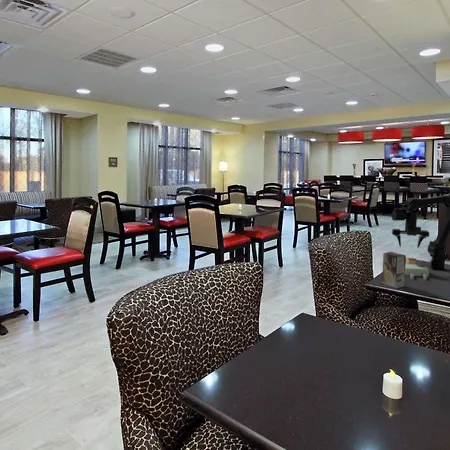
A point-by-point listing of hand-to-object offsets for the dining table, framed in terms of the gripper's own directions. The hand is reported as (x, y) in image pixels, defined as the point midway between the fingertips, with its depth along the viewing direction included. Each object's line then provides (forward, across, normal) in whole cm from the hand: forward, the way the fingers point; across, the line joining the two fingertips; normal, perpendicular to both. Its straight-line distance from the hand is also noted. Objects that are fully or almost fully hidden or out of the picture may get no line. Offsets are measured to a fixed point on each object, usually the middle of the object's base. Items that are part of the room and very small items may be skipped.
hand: (408, 247), depth 221 cm
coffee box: (+13, -10, -32) cm, 36 cm away
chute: (+13, +2, +2) cm, 13 cm away
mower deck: (+13, +3, -11) cm, 18 cm away
